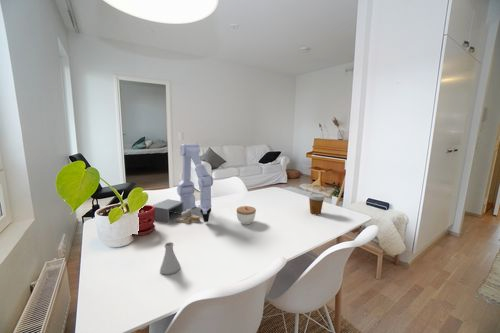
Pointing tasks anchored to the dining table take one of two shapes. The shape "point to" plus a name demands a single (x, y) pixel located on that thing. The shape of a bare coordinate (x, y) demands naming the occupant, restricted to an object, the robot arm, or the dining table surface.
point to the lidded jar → (246, 214)
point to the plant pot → (146, 219)
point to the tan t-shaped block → (188, 217)
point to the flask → (169, 261)
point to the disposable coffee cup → (316, 203)
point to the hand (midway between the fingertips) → (206, 221)
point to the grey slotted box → (167, 209)
